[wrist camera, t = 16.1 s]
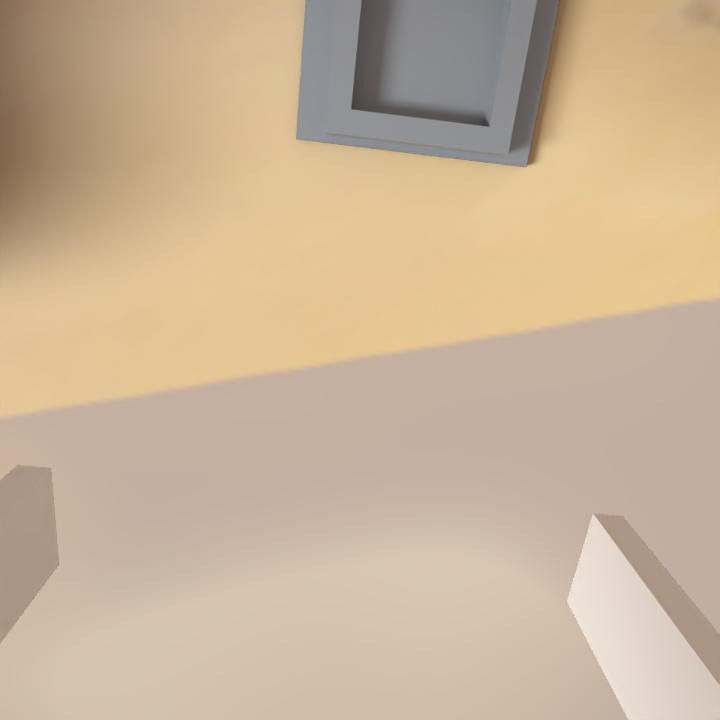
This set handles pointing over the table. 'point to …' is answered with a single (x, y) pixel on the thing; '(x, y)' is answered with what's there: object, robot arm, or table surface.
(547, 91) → the table surface
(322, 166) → the table surface
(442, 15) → the keyhole board
